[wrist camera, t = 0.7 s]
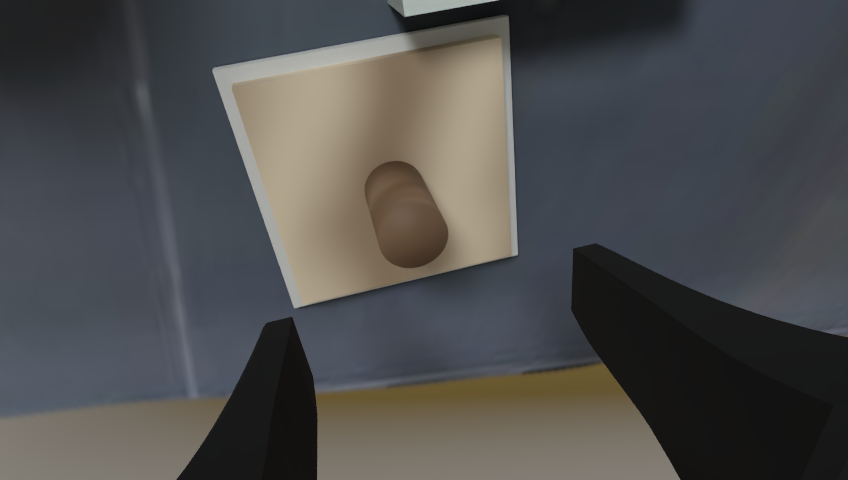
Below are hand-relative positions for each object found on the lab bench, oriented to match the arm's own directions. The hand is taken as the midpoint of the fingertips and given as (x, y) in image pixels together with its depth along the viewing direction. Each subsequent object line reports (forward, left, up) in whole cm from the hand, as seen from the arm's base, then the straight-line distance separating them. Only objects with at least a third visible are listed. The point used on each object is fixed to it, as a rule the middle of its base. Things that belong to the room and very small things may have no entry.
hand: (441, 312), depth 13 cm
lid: (0, 0, -8) cm, 8 cm away
